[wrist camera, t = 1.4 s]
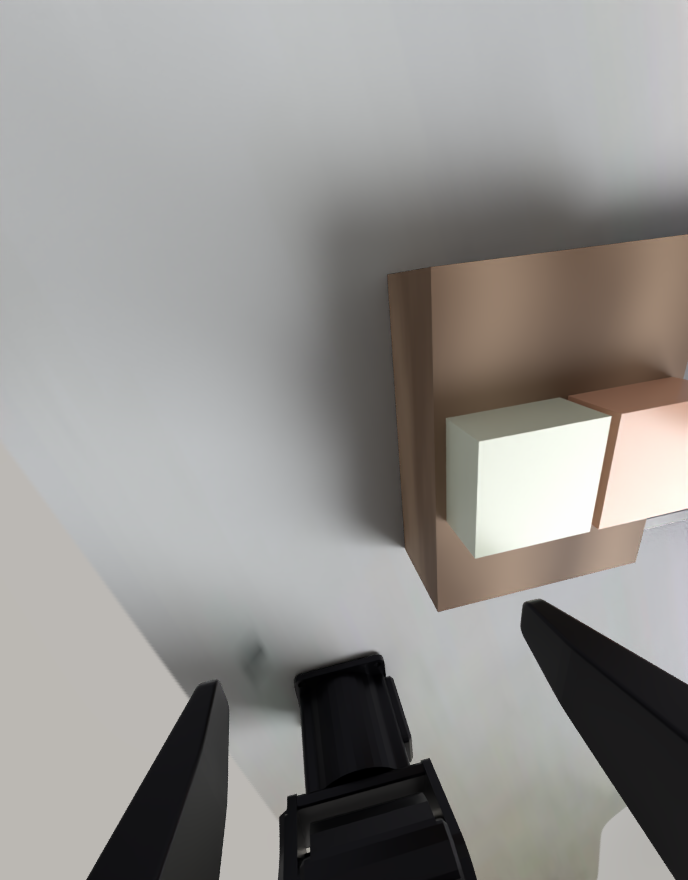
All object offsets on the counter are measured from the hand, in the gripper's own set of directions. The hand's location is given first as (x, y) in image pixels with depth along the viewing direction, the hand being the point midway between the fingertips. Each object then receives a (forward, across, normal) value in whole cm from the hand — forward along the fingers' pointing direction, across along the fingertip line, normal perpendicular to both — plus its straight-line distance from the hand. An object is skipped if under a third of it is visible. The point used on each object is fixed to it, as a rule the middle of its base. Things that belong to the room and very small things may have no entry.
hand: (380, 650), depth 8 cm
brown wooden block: (+12, -10, 0) cm, 16 cm away
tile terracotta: (+7, -13, 0) cm, 15 cm away
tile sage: (+7, -7, 0) cm, 10 cm away
